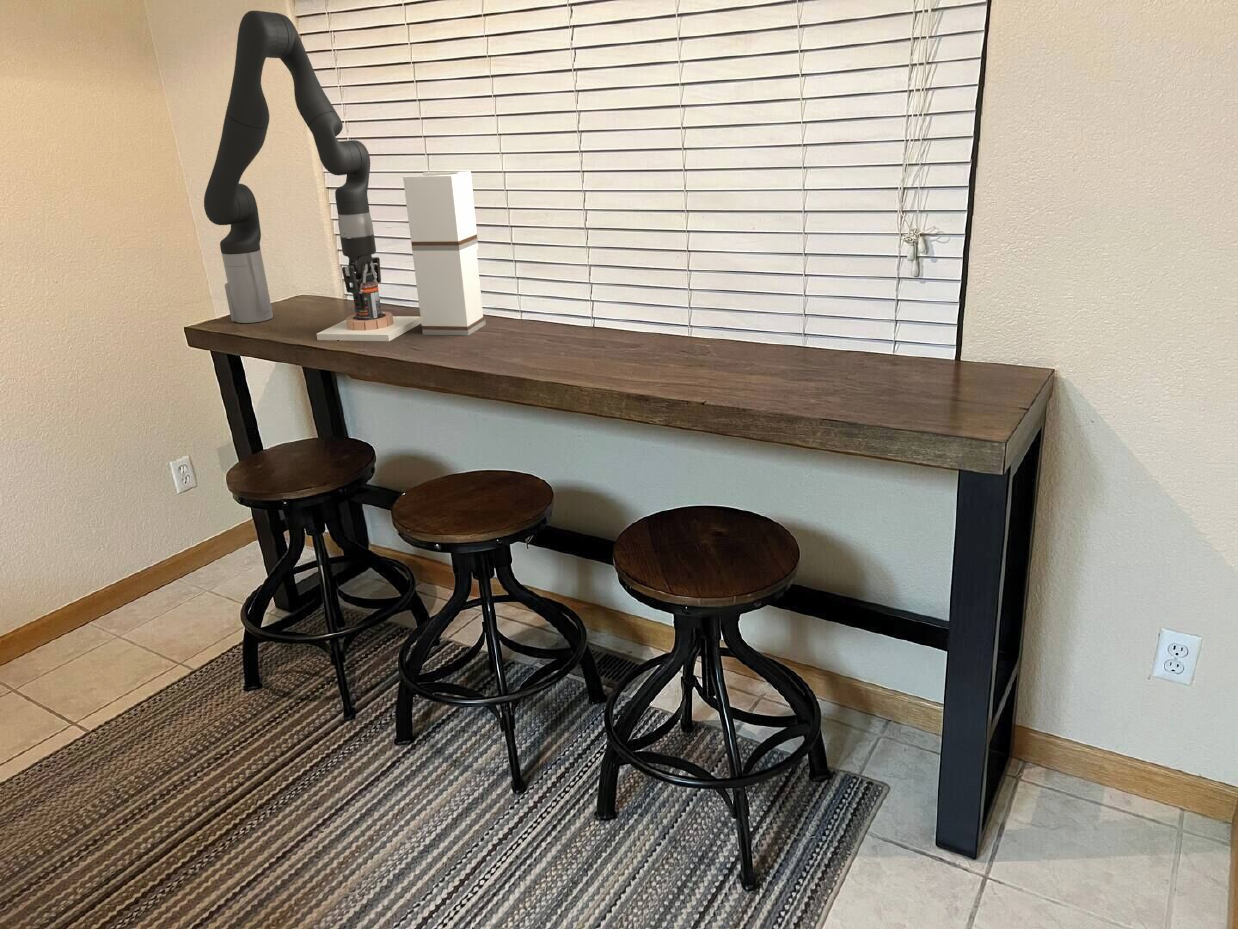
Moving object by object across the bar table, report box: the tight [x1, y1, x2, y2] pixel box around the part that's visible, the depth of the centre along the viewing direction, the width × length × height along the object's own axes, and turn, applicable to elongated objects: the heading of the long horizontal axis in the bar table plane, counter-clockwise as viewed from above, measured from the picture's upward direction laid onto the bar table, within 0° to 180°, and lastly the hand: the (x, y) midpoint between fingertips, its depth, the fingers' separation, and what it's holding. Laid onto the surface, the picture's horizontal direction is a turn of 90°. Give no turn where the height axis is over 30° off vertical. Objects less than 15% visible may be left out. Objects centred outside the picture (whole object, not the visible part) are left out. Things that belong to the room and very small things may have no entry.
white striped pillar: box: [402, 170, 486, 336], centre depth 209 cm, size 11×11×35 cm
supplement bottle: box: [352, 273, 382, 320], centre depth 214 cm, size 6×6×11 cm
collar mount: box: [316, 311, 422, 342], centre depth 217 cm, size 18×18×4 cm
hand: (367, 306), depth 215 cm, fingers closed on supplement bottle, 6 cm apart
